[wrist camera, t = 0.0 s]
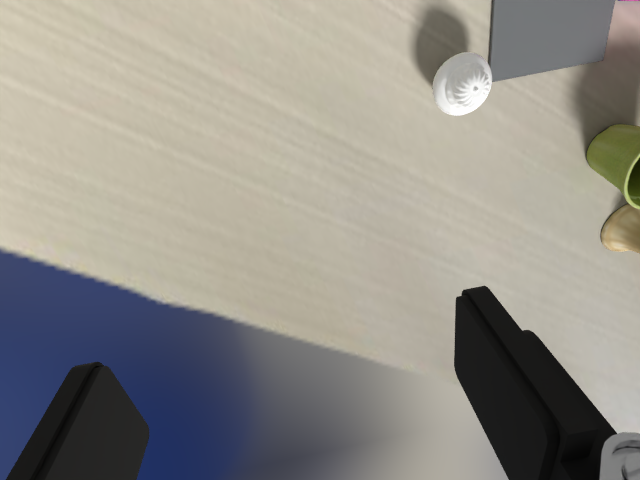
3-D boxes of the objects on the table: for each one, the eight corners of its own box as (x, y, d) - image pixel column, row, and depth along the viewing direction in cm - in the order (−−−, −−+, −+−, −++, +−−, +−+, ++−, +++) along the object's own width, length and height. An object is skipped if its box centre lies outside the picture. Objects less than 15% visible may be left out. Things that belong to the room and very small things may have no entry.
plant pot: (560, 181, 50) (610, 209, 43) (591, 107, 46) (652, 125, 38) (623, 183, 52) (682, 211, 44) (659, 111, 47) (732, 129, 39)
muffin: (412, 98, 43) (434, 111, 37) (437, 40, 40) (466, 45, 34) (458, 115, 45) (487, 131, 39) (486, 61, 42) (521, 68, 36)
